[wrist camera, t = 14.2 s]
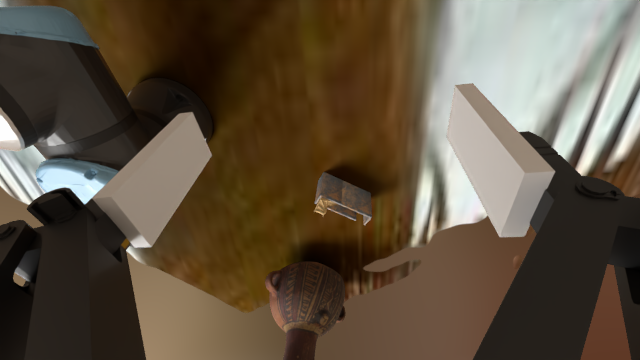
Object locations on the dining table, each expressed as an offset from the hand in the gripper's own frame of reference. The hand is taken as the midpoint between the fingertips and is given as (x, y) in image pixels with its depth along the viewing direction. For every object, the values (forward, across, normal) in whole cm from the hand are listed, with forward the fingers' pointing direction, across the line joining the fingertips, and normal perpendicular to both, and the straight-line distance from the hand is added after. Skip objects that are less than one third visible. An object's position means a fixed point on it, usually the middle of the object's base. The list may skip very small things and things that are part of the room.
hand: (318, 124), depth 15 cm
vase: (+34, -14, -62) cm, 72 cm away
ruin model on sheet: (+34, -2, -33) cm, 47 cm away
